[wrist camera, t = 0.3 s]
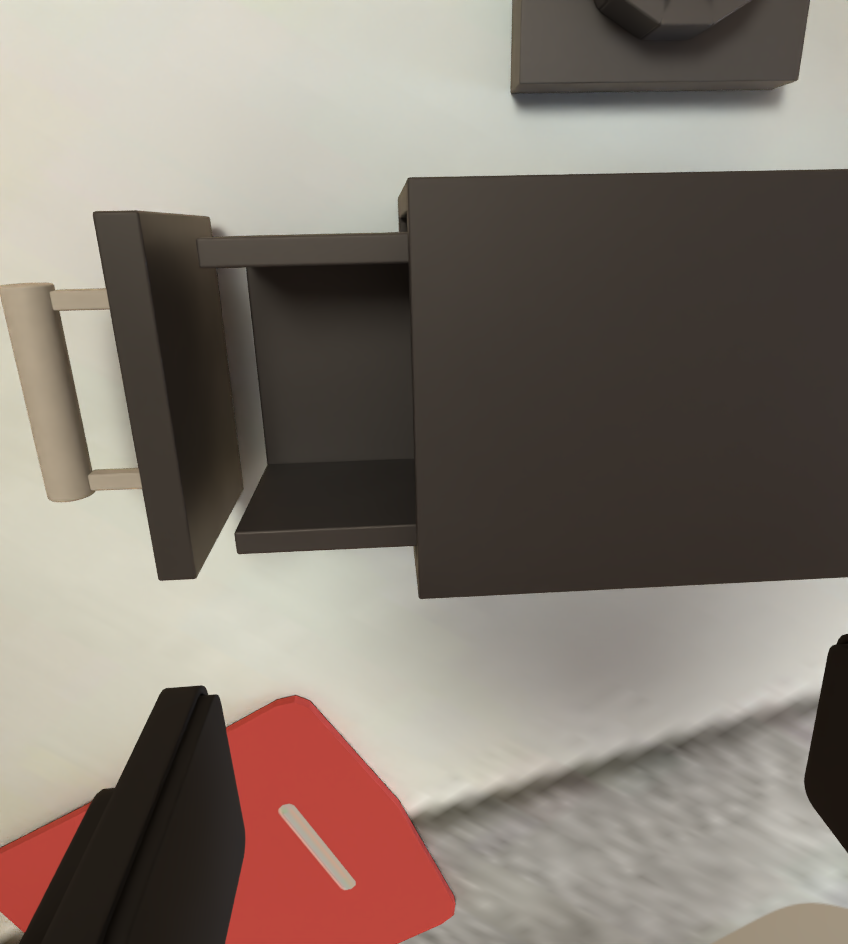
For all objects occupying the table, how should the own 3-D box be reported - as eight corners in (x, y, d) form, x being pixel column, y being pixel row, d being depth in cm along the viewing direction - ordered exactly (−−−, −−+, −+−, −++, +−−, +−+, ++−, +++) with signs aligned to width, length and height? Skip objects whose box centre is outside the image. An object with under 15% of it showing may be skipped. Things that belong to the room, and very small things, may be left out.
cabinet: (407, 488, 30) (418, 600, 21) (397, 196, 26) (407, 177, 17) (724, 474, 30) (869, 576, 21) (765, 188, 26) (966, 166, 17)
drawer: (113, 495, 28) (19, 588, 21) (59, 219, 24) (-79, 215, 17) (529, 477, 29) (579, 561, 22) (538, 209, 25) (603, 200, 18)
